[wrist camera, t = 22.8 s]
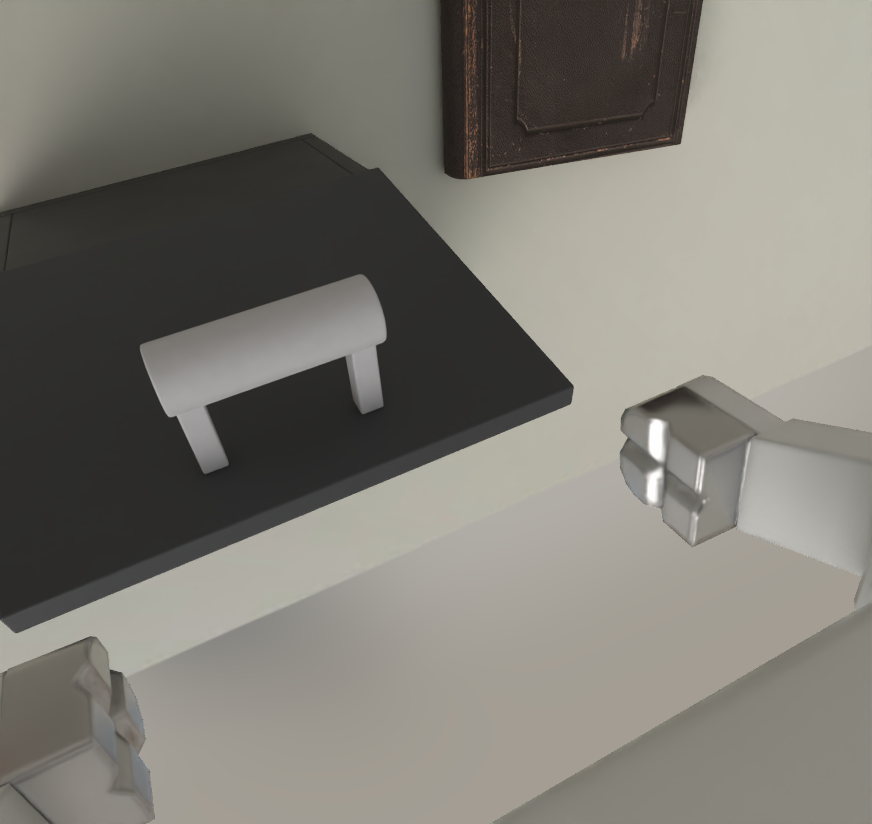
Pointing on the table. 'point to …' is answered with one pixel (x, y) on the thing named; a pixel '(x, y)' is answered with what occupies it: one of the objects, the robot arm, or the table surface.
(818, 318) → the table surface
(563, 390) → the lid
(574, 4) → the hardcover book
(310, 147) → the dark grey storage bin
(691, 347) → the table surface
